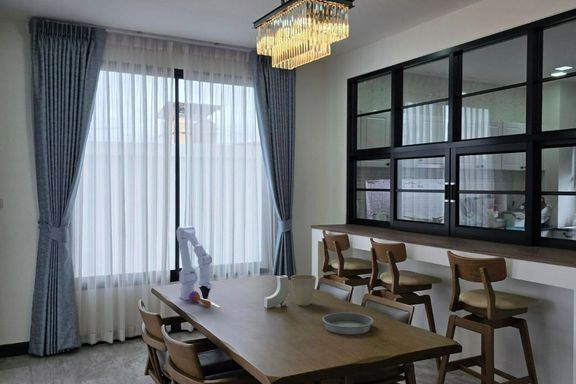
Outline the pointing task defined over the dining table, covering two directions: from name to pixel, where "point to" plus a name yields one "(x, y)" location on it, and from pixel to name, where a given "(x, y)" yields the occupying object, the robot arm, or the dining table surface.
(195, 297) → the kendama
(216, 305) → the strip
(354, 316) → the cake pan
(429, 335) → the dining table surface
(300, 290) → the plant pot
